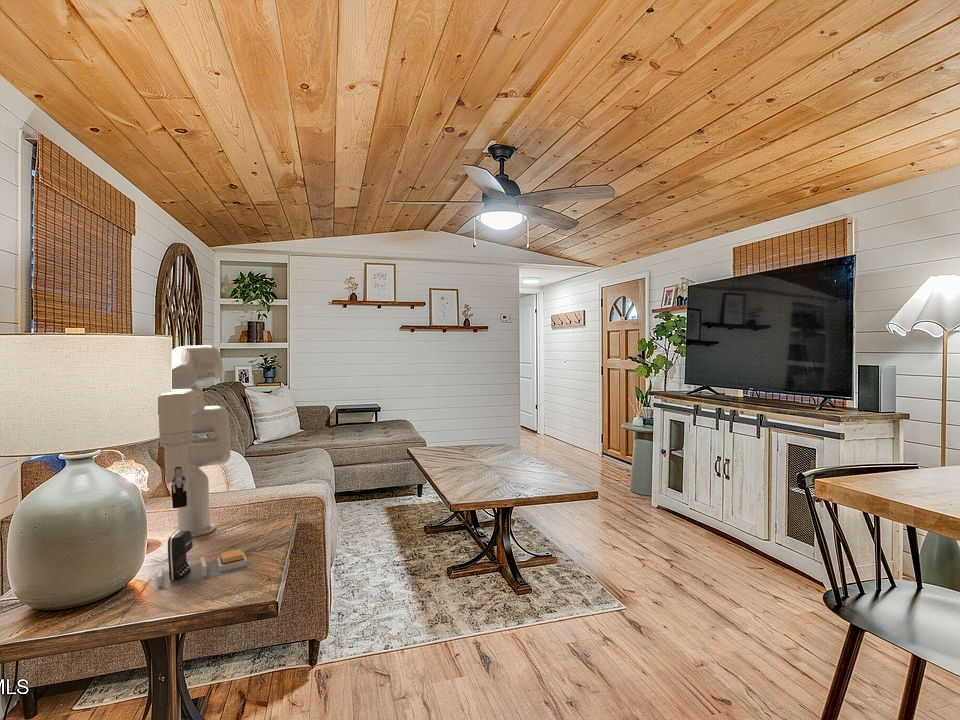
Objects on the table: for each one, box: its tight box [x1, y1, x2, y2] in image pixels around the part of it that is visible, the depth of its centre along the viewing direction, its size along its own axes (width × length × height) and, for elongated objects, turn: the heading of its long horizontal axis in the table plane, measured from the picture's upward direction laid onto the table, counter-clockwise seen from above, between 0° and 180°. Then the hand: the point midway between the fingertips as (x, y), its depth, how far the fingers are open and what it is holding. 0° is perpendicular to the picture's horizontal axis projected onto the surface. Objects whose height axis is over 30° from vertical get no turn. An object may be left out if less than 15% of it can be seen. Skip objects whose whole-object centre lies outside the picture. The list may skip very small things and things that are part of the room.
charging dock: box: [155, 551, 252, 591], centre depth 139 cm, size 12×22×4 cm, turn 122°
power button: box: [220, 548, 243, 563], centre depth 142 cm, size 5×5×1 cm
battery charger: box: [167, 531, 194, 580], centre depth 136 cm, size 7×4×11 cm, turn 8°
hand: (179, 502), depth 136 cm, fingers open, 9 cm apart
